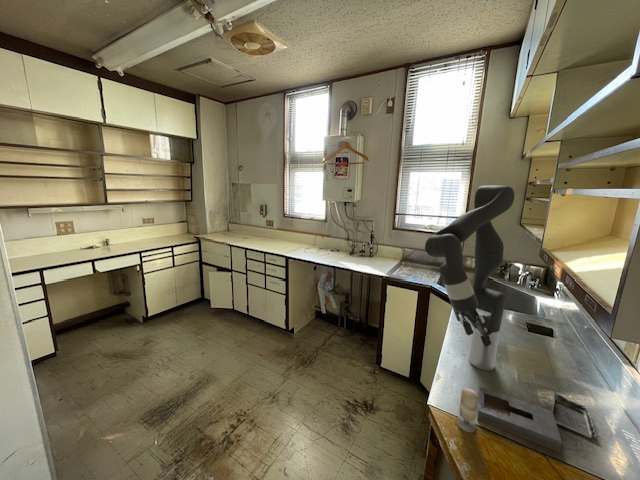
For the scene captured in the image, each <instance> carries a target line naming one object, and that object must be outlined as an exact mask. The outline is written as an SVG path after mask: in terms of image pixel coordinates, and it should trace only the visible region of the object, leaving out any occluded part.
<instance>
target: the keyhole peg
mask: <svg viewBox="0 0 640 480" xmlns="http://www.w3.org/2000/svg"><path fill="white" fill-rule="evenodd" d="M460 394H461V395H460V405H459V411H458V413H459V415H457V418H456V424H457V426H458V427H459V428H460V429H461V430H462V431H464V432H467V433H474V432H475V431H476V429H477V424H476V422H475V421H476V417H477V416H476V415H477V411H478V392H476V391H475V390H473V389H471V388H468V387H465V388H462V389H461V393H460Z"/></svg>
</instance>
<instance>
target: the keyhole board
mask: <svg viewBox="0 0 640 480" xmlns="http://www.w3.org/2000/svg"><path fill="white" fill-rule="evenodd" d="M477 394H478V402H477V411H476V415H477V416H476V417H477V421H479V422H481V423H484V424H487V425H489V426H492V427H495V428H497V429H499V430H502V431H504V432H507V433H510V434H511V435H515V436H518V437H519V438H522V439H525V440H527V441H529V442H532V443H535V444H536V445H540V446H542V447H545V448H547V449H550V450H552V451H555V452H557V453H561V450H562V445H563V440H562V438H561V434H560V432H559V428H558V424H557V423H556V421H557V420H556V418H555V414H554V410H553V411H552V410H550V409H547V408H543V407H541V406H538V405H534V404H531V403H528V402H526V401H523V400H520V399H517V398H515V397H511V396H508V395H506V394H502V393H499V392H497V391H495V390H490V389H488V388H485V387H482V386H478V392H477Z"/></svg>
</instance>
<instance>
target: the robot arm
mask: <svg viewBox="0 0 640 480" xmlns="http://www.w3.org/2000/svg"><path fill="white" fill-rule="evenodd" d="M514 201H515V191H514V189H513V188H512V187H511V186H509V185H480V186H479V187H478V188H477V189H476V191H475V193H474V202H473V204H474V205H473V206H474V208H473V209H472V210H470V211H466V212H464V213H462V214H460V215H459V216H458V217H457V218H455V219H454V220H452V222H450V223H449V224H448V225H447V226H445V227H444V228H442V229H440V230H438V231H437V232H435V233H433V234H432V235H431V236H429V237H428V239H427V240H426V241H425V242H424V243H425V244H424V251H425V252H426V254H427V255H428V256H429V257H432V258H444V259H445V262H444V263H442V264H440V266H439V268H438V270H439V274H440V276H441V278H442V281H443V284H444V288H445V292H446V295H447V296H448V298H449V302H450V304H451V307H452V309H453V312H454V315H455V318H456V321H457V322H459V323H460V324H461V325H462V326H463V330H464V332H465V335H467V336H471V341H470V350H469V359H468V361H469V362H470V363H469V364H471V365H472V366H474V367H475V368H477V369H480V370H483V371H493V370H494V369H495V366H496V360H497V354H498V346H499V339H500V338H499V337H500V332H501V331H500V330H501V324H502V322H503V321H502V320H503V315H504V310H505V306H506V295H505V294H504V293H503V292H501V291H498V290H494V289H491V288H486V281H487V280H488V278H489V277H490V276H491V275H492V274H493V273H494V272H495V271H496V270H498V269H499V267H500V266H501V265H502V264H503V262H504V249H505V247H504V242H503V240H502V238H501V236H500V235H499V233H498V231H497V230H496V229H495V227H494V226H493V223H492V220H494V219H496V218H497V217H499V216H501V215H502V214H504V213H506V212H507V211H508V210H510V208H511V207H512V206H513V204H514ZM474 233H475V245H474V277H473V285H472V283H471V282H470V280H469V277H468V275H467V272H466V270H465V267H464V262H463V261H464V259H463V248H462V243H464V242H465V241H467V239H469V238H470V237H471V236H472V235H473V234H474ZM477 309H478V310H479V311H480V310H481V311H483V312H487V313H490V314H489V315H485V314H482V315H480V314H479V312H478V311H477Z"/></svg>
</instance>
